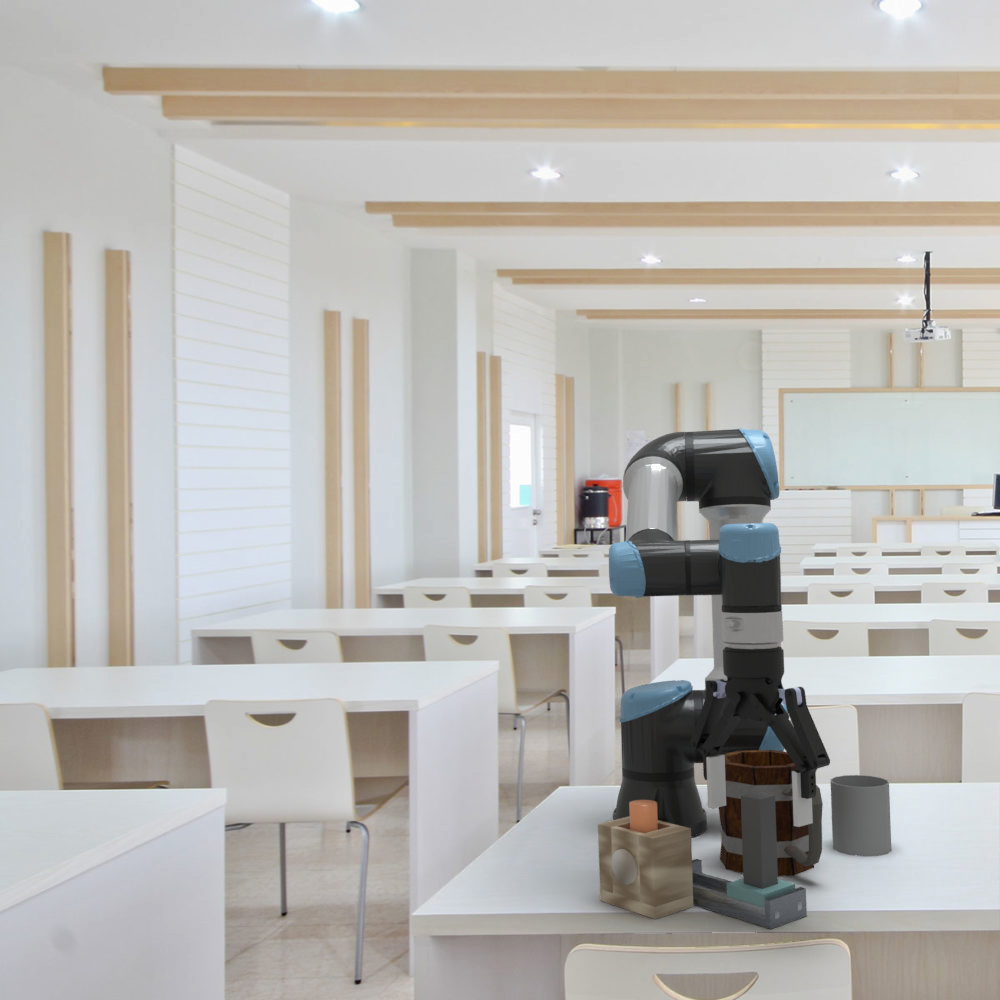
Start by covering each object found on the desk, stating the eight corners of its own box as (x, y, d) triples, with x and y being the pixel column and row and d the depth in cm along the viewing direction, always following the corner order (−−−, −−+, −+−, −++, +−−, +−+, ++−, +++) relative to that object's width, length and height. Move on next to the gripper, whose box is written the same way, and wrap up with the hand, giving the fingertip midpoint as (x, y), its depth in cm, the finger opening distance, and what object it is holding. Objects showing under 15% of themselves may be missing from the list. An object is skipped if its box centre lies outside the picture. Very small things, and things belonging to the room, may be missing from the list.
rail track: (662, 895, 155) (661, 869, 155) (698, 883, 160) (697, 858, 160) (770, 929, 141) (769, 900, 141) (806, 915, 146) (805, 888, 146)
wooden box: (598, 901, 154) (595, 824, 154) (638, 889, 158) (635, 814, 158) (653, 919, 146) (650, 839, 146) (693, 906, 150) (691, 828, 151)
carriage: (726, 896, 147) (723, 795, 148) (757, 886, 151) (754, 788, 151) (764, 907, 143) (761, 803, 143) (795, 896, 146) (792, 795, 147)
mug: (701, 857, 172) (697, 755, 173) (778, 845, 177) (775, 746, 178) (778, 895, 154) (774, 780, 154) (862, 881, 159) (858, 770, 159)
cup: (894, 857, 170) (891, 787, 170) (835, 855, 171) (833, 786, 172) (887, 841, 178) (884, 775, 178) (831, 840, 180) (828, 774, 180)
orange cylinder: (625, 864, 152) (623, 803, 153) (644, 859, 155) (643, 798, 155) (645, 870, 150) (643, 807, 150) (664, 864, 152) (662, 802, 152)
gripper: (660, 642, 155) (665, 804, 154) (816, 653, 135) (823, 838, 135) (698, 638, 160) (703, 795, 159) (855, 648, 140) (862, 827, 139)
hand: (758, 815), depth 147 cm, fingers open, 13 cm apart
